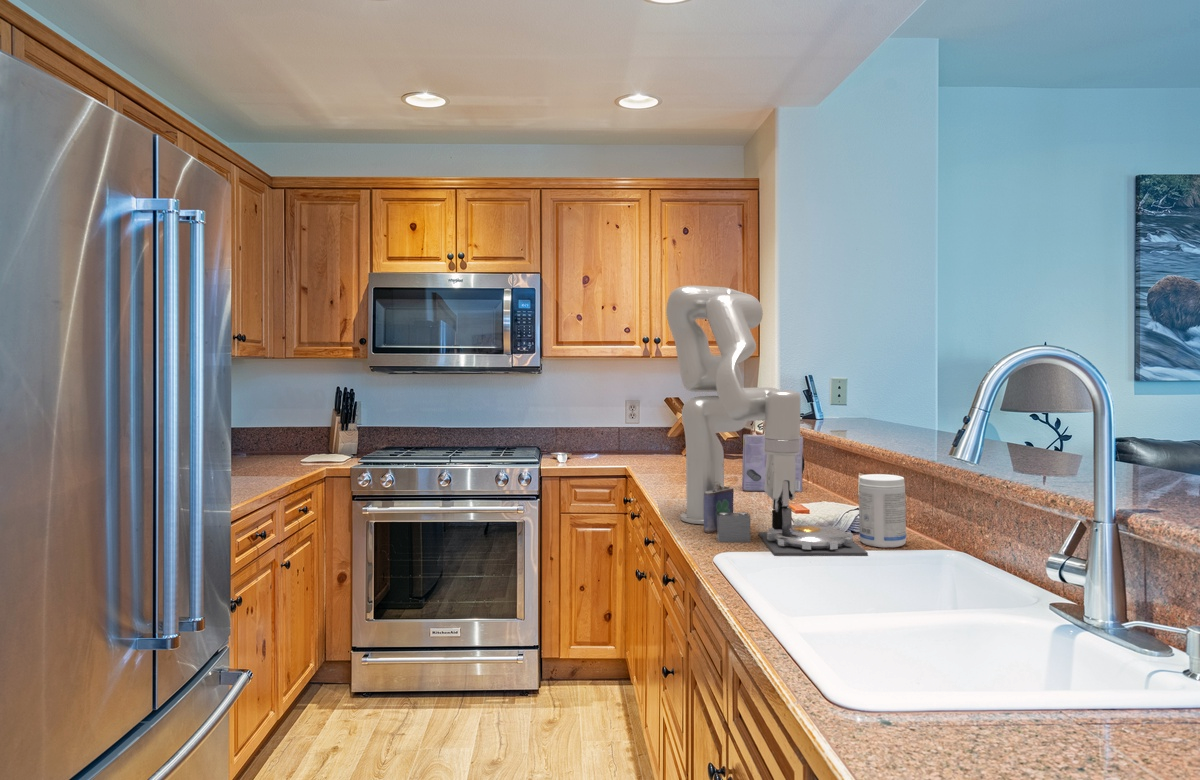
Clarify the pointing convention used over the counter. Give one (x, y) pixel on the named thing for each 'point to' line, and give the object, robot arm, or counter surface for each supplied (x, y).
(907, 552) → the counter surface
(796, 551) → the base mat
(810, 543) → the sprocket
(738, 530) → the grey rectangular block
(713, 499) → the flask
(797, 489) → the purple product box
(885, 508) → the supplement tub
